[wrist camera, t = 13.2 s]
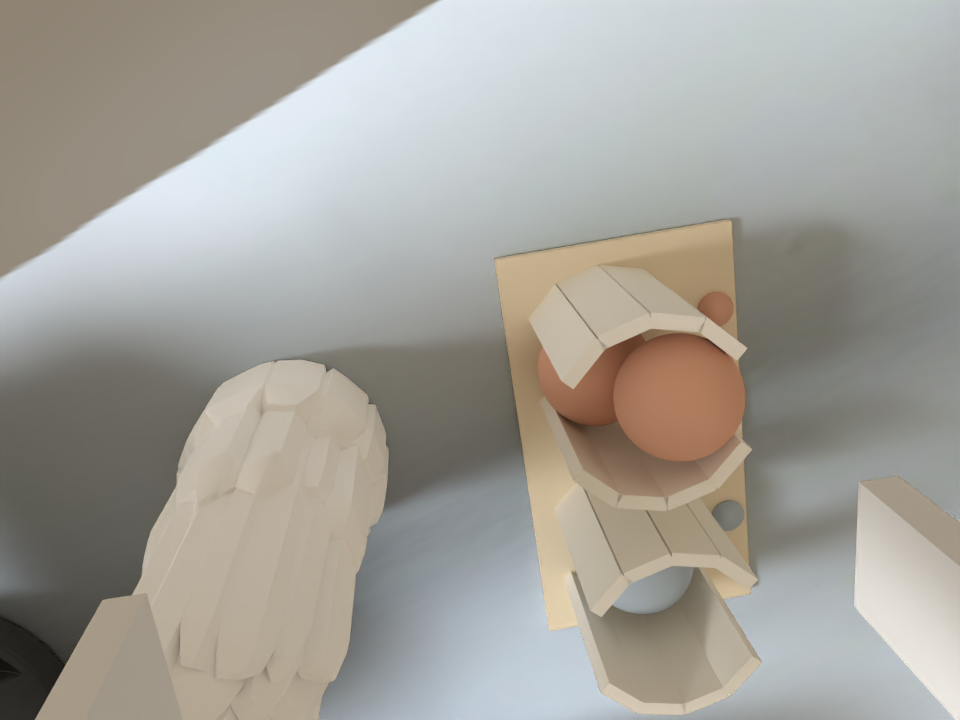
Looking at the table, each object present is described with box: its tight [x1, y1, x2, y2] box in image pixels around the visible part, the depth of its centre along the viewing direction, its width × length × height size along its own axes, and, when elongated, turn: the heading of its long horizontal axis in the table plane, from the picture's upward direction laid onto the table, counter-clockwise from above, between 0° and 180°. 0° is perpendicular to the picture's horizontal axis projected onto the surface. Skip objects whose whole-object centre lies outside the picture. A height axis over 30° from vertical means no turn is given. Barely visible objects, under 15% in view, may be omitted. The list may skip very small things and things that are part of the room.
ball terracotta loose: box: [613, 333, 746, 462], centre depth 39 cm, size 6×6×6 cm
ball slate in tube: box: [612, 566, 694, 615], centre depth 47 cm, size 6×6×6 cm
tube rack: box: [494, 219, 762, 715], centre depth 44 cm, size 13×24×11 cm, turn 9°
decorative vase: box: [132, 360, 389, 720], centre depth 35 cm, size 11×11×25 cm
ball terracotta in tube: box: [538, 334, 646, 426], centre depth 43 cm, size 6×6×6 cm
